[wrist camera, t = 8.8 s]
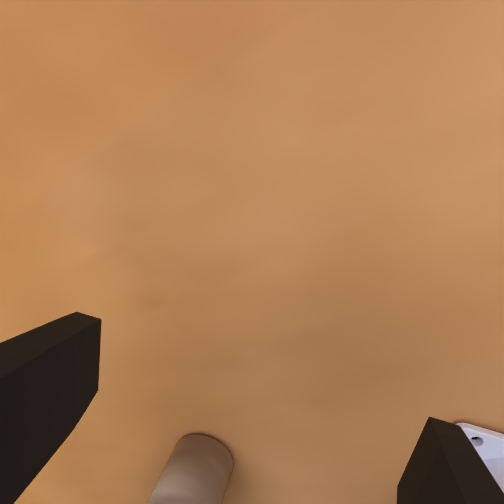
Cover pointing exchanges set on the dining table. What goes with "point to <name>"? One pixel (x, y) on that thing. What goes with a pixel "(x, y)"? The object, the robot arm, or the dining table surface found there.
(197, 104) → the dining table surface
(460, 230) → the dining table surface
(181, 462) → the sliding frame
